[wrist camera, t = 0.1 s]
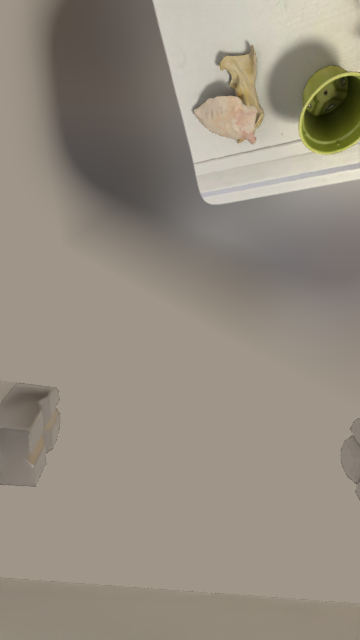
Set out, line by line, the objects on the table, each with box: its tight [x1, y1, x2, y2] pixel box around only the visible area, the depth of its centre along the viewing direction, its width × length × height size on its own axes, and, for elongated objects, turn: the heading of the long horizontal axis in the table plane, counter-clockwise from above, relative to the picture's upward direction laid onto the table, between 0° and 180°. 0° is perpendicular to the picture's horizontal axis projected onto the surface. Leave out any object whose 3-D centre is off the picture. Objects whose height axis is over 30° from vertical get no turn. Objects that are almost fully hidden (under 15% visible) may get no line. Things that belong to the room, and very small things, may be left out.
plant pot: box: [299, 66, 360, 155], centre depth 44 cm, size 9×9×9 cm
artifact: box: [194, 96, 257, 144], centre depth 47 cm, size 7×3×10 cm
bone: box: [220, 45, 264, 143], centre depth 47 cm, size 12×5×2 cm, turn 20°
